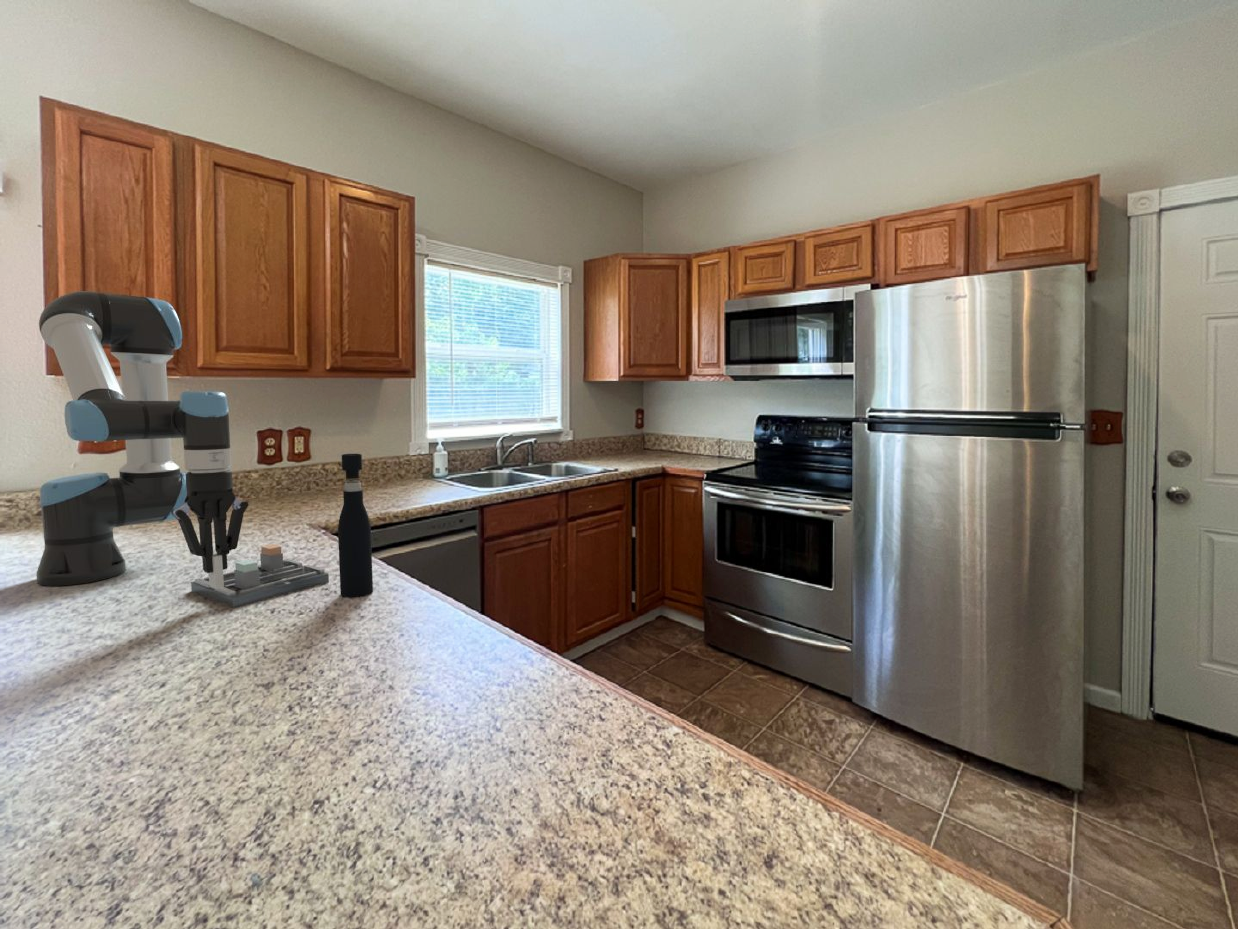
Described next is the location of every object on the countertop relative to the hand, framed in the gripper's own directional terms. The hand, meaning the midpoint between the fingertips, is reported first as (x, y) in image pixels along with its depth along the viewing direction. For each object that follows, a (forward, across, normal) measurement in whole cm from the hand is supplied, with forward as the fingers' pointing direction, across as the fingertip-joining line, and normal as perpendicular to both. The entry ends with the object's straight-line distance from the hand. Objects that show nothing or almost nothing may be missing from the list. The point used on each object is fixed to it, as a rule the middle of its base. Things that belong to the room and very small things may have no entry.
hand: (216, 586), depth 117 cm
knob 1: (+2, +6, 0) cm, 6 cm away
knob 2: (+2, +15, +9) cm, 18 cm away
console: (+4, +11, +5) cm, 12 cm away
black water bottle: (+4, +20, -16) cm, 26 cm away
